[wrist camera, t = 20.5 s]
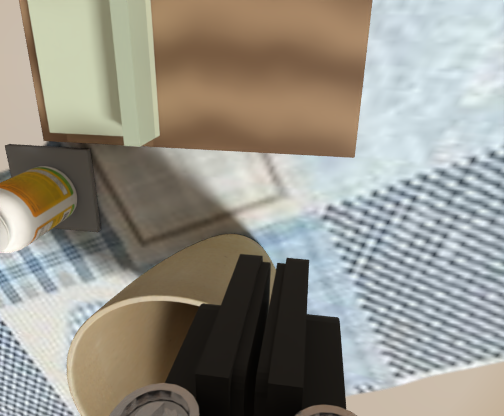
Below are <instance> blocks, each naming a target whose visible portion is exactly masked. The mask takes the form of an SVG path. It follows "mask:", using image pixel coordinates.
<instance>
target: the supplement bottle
mask: <svg viewBox="0 0 504 416" xmlns="http://www.w3.org/2000/svg"><path fill="white" fill-rule="evenodd" d="M76 205H77V193H76V190H75V187H74V185H73V184H72V182H71V181H70V179H69V178H68V177H67V176H66V175H65V174H64V173H62V172H61V171H59V170H57V169H55V168H52V167H48V166H40V167H36V168H33V169H30V170H28V171H26V172H24V173H21V174H19V175H17V176H15V177H12V178H10V179H8V180H6V181H3V182H1V183H0V253H2V252H3V253H11V252H15V251H18V250H21V249H23V248H24V247H26V246H28V245H29V244H30V243H32V242H33V241H35V240H36V239H38V238H39V237H40V236H42V235H43V234H45V233H46V232H48V231H49V230H51V229H52V228H53V227H55V226H56V225H58V224H59V223H61V222H62V221H64V220H65V219H66V218H68V217H69V216H70V215H71V214H72V213H73V212H74V210H75V208H76Z"/></svg>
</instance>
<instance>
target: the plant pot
mask: <svg viewBox="0 0 504 416" xmlns="http://www.w3.org/2000/svg"><path fill="white" fill-rule="evenodd" d="M240 254H248V255H259V256H263V262H271V277H270V300H271V294H272V289H273V284H274V278H275V273H276V269H275V267H274V265H273V263H272V261H271V259H270V257H269V256H268V254H267V253H266V251H265V250H264V249H263V248H262V247H261V246H260V245H259V244H258V243H257V242H255V241H254V240H252V239H250V238H248V237H245V236H242V235H238V234H223V235H219V236H215V237H212V238H209V239H206V240H203V241H201V242H198V243H196V244H193V245H191V246H189V247H187V248H185V249H183V250H181V251H179V252H177V253H176V254H174V255H172V256H170V257H169V258H167V259H165V260H164V261H162V262H160V263H159V264H157V265H156V266H154V267H153V268H151V269H150V270H148V271H147V272H146V273H144V274H143V275H141V276H140V277H139V278H137V279H136V280H135V281H133V282H132V283H131V284H129V285H128V286H127V287H126V288H124V289H123V290H122V291H121V292H120V293H118V294H117V295H116V296H115V297H113V298H112V299H111V300H110V301H109V302H107V303H106V304H105V305H104V306H103V307H101V308H100V309H99V310H98V311H97V312H96V313H94V314H93V315H92V316H91V317H90V318H89V319H88V320H87V321H86V322H85V323H84V324H83V325H82V326H81V327H80V329H79V330H78V331H77V333H76V335H75V337H74V338H73V340H72V343H71V346H70V349H69V352H68V357H67V379H68V385H69V389H70V393H71V396H72V398H73V401H74V403H75V405H76V407H77V409H78V411H79V413H80V414H81V416H109V415H110V414H111V412H112V411H113V410H114V408H115V407H116V406H117V405H118V404H119V403H120V402H121V401H122V400H123V399H124V398H125V397H126V396H127V395H129V394H130V393H132V392H133V391H135V390H137V389H139V388H142V387H145V386H147V385H150V384H159V383H165V381H166V379H167V377H168V374H169V372H170V370H171V368H172V366H173V363H174V361H175V359H176V357H177V355H178V352H179V350H180V348H181V346H182V344H183V341H184V339H185V337H186V335H187V333H188V330H189V328H190V326H191V324H192V322H193V319H194V317H195V315H196V313H197V311H198V308H199V307H200V305H201V304H203V303H205V304H215V305H221V303H222V301H223V298H224V295H225V293H226V290H227V287H228V285H229V282H230V279H231V277H232V274H233V271H234V269H235V266H236V263H237V261H238V258H239V256H240ZM269 305H270V302H269Z"/></svg>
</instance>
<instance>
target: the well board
mask: <svg viewBox="0 0 504 416" xmlns="http://www.w3.org/2000/svg"><path fill="white" fill-rule="evenodd" d="M19 3H20V9H21V14H22V20H23V26H24V31H25V37H26V42H27V48H28V54H29V60H30V65H31V71H32V77H33V82H34V88H35V93H36V99H37V105H38V111H39V116H40V122H41V127H42V133H43V139H44V141H55V142H74V143H92V144H111V145H124V139H123V136H107V135H87V134H67V133H50V131H49V125H48V119H47V113H46V107H45V101H44V95H43V89H42V84H41V78H40V72H39V66H38V60H37V54H36V48H35V42H34V36H33V31H32V25H31V19H30V13H29V7H28V1H27V0H19ZM371 8H372V0H151V14H152V28H153V43H154V57H155V72H156V87H157V101H158V116H159V131H160V136H158V137H156V138H154V139H153V140H151V141H149V142H147V143H146V144H144V145H142V146H148V147H166V148H185V149H203V150H222V151H240V152H259V153H278V154H296V155H315V156H333V157H352V158H354V157H355V148H356V140H357V131H358V122H359V113H360V105H361V96H362V87H363V78H364V69H365V61H366V52H367V43H368V34H369V26H370V17H371Z"/></svg>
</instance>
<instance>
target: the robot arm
mask: <svg viewBox="0 0 504 416" xmlns="http://www.w3.org/2000/svg"><path fill="white" fill-rule="evenodd" d="M308 273H309V260H305V259H293V258H287V259H286V264H283V263H277V268H276V273H275V278H274V284H273V289H272V294H271V300H270V277H271V262H263V256H259V255H248V254H240V256H239V258H238V261H237V263H236V266H235V269H234V271H233V274H232V277H231V279H230V282H229V285H228V287H227V290H226V293H225V295H224V298H223V301H222V303H221V305H215V304H205V303H203V304H201V305H200V307H199V308H198V311H197V313H196V315H195V317H194V319H193V322H192V324H191V326H190V328H189V330H188V333H187V335H186V337H185V339H184V341H183V344H182V346H181V348H180V350H179V352H178V355H177V357H176V359H175V361H174V363H173V366H172V368H171V370H170V372H169V374H168V377H167V379H166V381H165V383H159V384H150V385H147V386H145V387H142V388H139V389H137V390H135V391H133V392H132V393H130V394H129V395H127V396H126V397H125V398H124V399H123V400H122V401H121V402H120V403H119V404H118V405H117V406H116V407H115V408H114V410H113V411H112V412H111V414H110V415H109V416H357V415H355V414H354V413H352V412H351V411H348V410H346V399H345V386H344V373H343V359H342V346H341V333H340V321H339V318H338V317H328V316H319V315H309V314H307V295H308ZM269 302H270V305H269Z"/></svg>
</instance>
